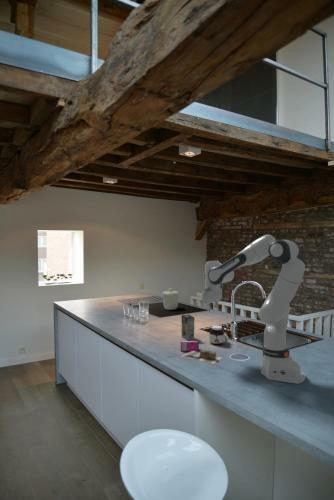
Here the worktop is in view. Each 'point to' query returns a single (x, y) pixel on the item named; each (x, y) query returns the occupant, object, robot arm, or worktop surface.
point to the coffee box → (187, 327)
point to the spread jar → (217, 335)
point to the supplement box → (189, 345)
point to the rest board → (204, 359)
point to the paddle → (202, 354)
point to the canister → (170, 299)
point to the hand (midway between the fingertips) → (212, 309)
